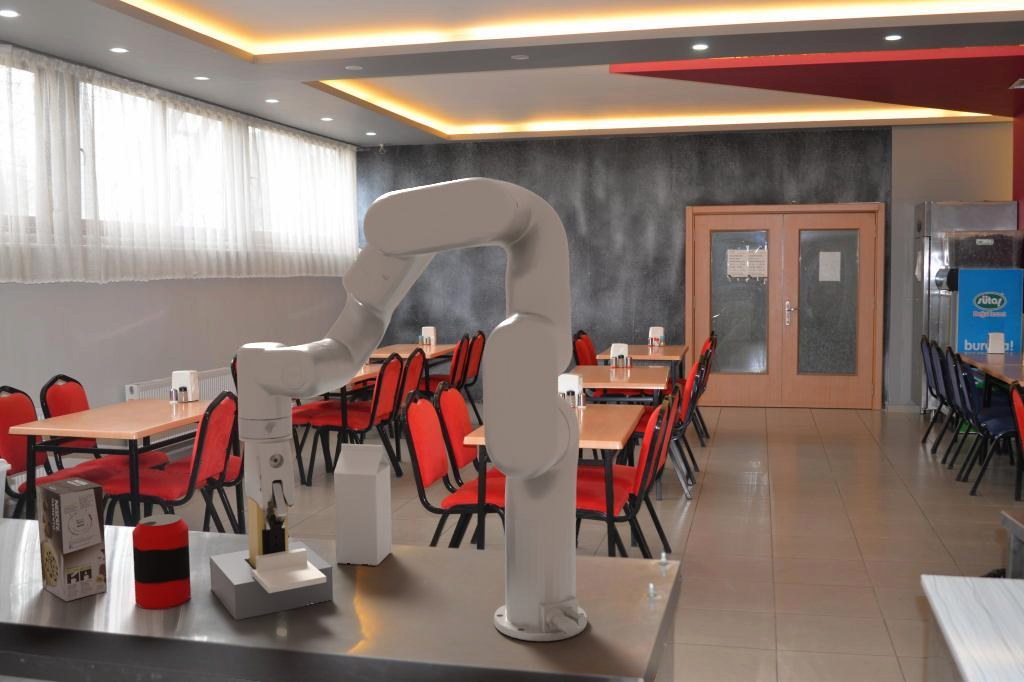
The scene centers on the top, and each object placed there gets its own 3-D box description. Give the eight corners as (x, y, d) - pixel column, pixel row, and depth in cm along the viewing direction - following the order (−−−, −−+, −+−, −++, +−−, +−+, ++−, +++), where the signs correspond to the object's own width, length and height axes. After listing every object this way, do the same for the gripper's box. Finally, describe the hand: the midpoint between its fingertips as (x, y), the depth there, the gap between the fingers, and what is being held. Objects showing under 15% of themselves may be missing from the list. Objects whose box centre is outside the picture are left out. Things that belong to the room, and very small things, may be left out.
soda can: (123, 606, 135) (119, 524, 133) (161, 588, 142) (158, 510, 140) (165, 613, 132) (162, 530, 131) (202, 594, 139) (199, 515, 138)
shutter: (326, 582, 129) (325, 562, 129) (268, 593, 125) (268, 572, 125) (307, 565, 136) (306, 546, 136) (251, 575, 132) (251, 556, 132)
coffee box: (109, 591, 140) (104, 485, 139) (65, 603, 136) (59, 493, 134) (83, 576, 147) (78, 475, 145) (40, 587, 142) (34, 483, 140)
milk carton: (377, 566, 151) (375, 450, 149) (335, 563, 152) (332, 448, 150) (391, 552, 158) (389, 441, 156) (351, 550, 159) (349, 439, 157)
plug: (288, 566, 138) (287, 486, 136) (258, 571, 135) (256, 490, 134) (279, 557, 141) (277, 479, 140) (249, 562, 139) (247, 483, 138)
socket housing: (332, 600, 136) (332, 566, 136) (235, 620, 129) (234, 584, 129) (301, 571, 148) (300, 541, 148) (210, 588, 141) (209, 556, 141)
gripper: (310, 435, 131) (312, 562, 133) (273, 416, 145) (276, 531, 147) (256, 441, 127) (260, 572, 129) (224, 421, 142) (228, 539, 143)
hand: (268, 549), depth 138 cm, fingers closed on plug, 4 cm apart
